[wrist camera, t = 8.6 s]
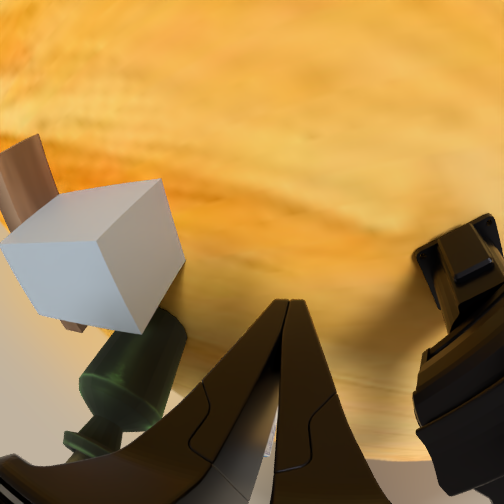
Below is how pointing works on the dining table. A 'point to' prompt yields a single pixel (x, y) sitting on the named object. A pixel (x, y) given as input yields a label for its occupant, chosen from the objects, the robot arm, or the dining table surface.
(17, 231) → the slate block
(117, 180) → the dining table surface
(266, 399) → the robot arm
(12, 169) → the walnut board
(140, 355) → the potion bottle
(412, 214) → the dining table surface
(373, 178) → the dining table surface
